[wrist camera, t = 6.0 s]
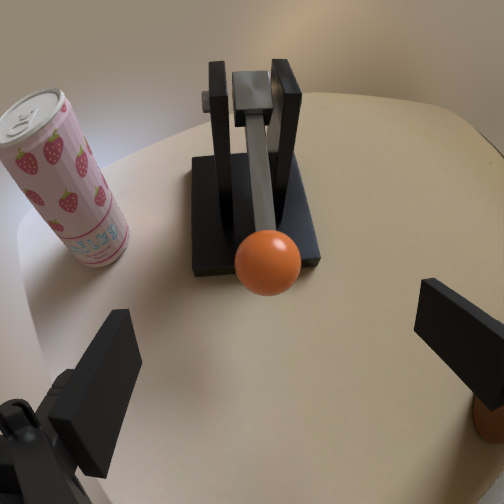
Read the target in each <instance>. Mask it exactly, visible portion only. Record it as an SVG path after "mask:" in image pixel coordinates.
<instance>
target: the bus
mask: <svg viewBox="0 0 504 504" xmlns="http://www.w3.org/2000/svg"><path fill="white" fill-rule="evenodd" d="M476 504H504V470H503V472H502V473H501V474H500V476H499V477H498V478H497V479H496V481H495V482H494V483H493V484H492V485H491V487H490V488H489V489H488V490H487V491H486V493H485V494H484V495H483V496H482V497H481V498H480V499H479V500H478V502H477V503H476Z"/></svg>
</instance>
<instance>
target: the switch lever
mask: <svg viewBox="0 0 504 504" xmlns="http://www.w3.org/2000/svg"><path fill="white" fill-rule="evenodd" d="M232 98H233V110H234V122H235V127H245V137H246V147H247V158H248V169H249V179H250V190H251V201H252V212H253V223H254V233H252V234H251V235H249V236H248V237H246V238H245V239H244V240H243V241H242V243H241V244H240V246H239V247H238V249H237V252H236V255H235V270H236V274H237V276H238V278H239V280H240V282H241V283H242V284H243V285H244V286H245V287H246V288H247V289H248V290H250V291H251V292H253V293H255V294H258V295H262V296H273V295H278V294H280V293H283V292H285V291H286V290H288V289H289V288H290V287H291V286H292V285H293V284H294V283H295V281H296V280H297V278H298V275H299V273H300V269H301V257H300V253H299V250H298V248H297V246H296V244H295V243H294V242H293V240H292V239H291V238H289V237H288V236H287V235H285V234H284V233H282V232H279V231H276V224H275V214H274V205H273V195H272V185H271V176H270V167H269V158H268V149H267V140H266V132H265V126H267V125H270V121H271V117H272V113H273V110H274V104H273V97H272V90H271V83H270V76H269V71H241V72H233V73H232Z"/></svg>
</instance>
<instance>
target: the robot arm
mask: <svg viewBox="0 0 504 504" xmlns="http://www.w3.org/2000/svg"><path fill="white" fill-rule="evenodd" d="M414 331H415V332H416V333H417V334H418V335H419V336H420V337H421V338H422V339H423V340H424V341H425V342H426V343H427V345H428V346H429V347H430V348H431V349H432V350H433V351H434V352H435V353H436V354H437V355H438V356H439V357H440V358H441V359H442V360H443V361H444V362H445V363H446V364H447V365H448V366H449V367H450V368H451V369H452V370H453V371H454V372H455V374H456V375H457V376H458V377H459V378H460V379H461V380H462V381H463V382H464V383H465V384H466V385H467V386H468V387H469V388H470V390H471V391H472V392H473V393H474V394H475V395H476V396H477V397H478V398H479V399H480V400H481V402H482V403H483V404H484V405H485V406H486V407H487V408H488V409H489V410H490V412H493V411H494V410H496V409H498V408H500V407H502V406H504V324H503V323H501V322H500V321H498V320H496V319H494V318H492V317H491V316H490V315H488V314H487V313H485V312H484V311H483V310H481V309H480V308H478V307H477V306H475V305H474V304H473V303H471V302H470V301H468V300H467V299H465V298H464V297H462V296H461V295H459V294H458V293H456V292H455V291H453V290H452V289H450V288H449V287H447V286H446V285H444V284H443V283H441V282H440V281H438V280H437V279H435V278H429V279H422V280H421V288H420V295H419V302H418V308H417V314H416V320H415V326H414ZM141 365H142V359H141V355H140V352H139V348H138V344H137V341H136V337H135V333H134V329H133V325H132V321H131V317H130V312H129V309H116V310H112V311H111V313H110V314H109V316H108V317H107V319H106V320H105V322H104V323H103V325H102V326H101V328H100V329H99V331H98V332H97V334H96V335H95V337H94V339H93V340H92V342H91V343H90V345H89V346H88V348H87V350H86V351H85V353H84V354H83V356H82V358H81V359H80V361H79V363H78V364H77V366H76V367H75V369H66V370H65V371H64V372H63V373H61V374H60V375H59V376H58V377H57V378H56V380H55V381H54V383H53V384H52V388H50V389H49V391H48V393H47V395H46V396H45V397H44V399H43V401H42V402H41V404H40V406H39V407H38V409H37V411H36V412H35V413H34V411H33V410H32V408H31V406H30V405H29V403H28V402H27V401H25V400H23V399H13V400H9V401H7V402H5V403H3V404H2V405H0V431H1V432H2V433H3V435H0V504H92V502H91V501H90V499H89V497H88V495H87V494H86V492H85V490H84V489H83V487H82V485H81V483H80V482H79V480H78V478H77V477H76V476H75V471H76V469H77V466H79V468H80V469H81V471H82V472H83V473H84V475H85V476H91V477H97V478H104V479H106V477H107V474H108V470H109V467H110V463H111V459H112V456H113V453H114V449H115V446H116V442H117V439H118V436H119V432H120V429H121V426H122V423H123V419H124V416H125V413H126V410H127V407H128V404H129V401H130V398H131V395H132V392H133V389H134V386H135V383H136V380H137V377H138V374H139V371H140V368H141Z"/></svg>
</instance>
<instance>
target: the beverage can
mask: <svg viewBox="0 0 504 504" xmlns="http://www.w3.org/2000/svg"><path fill="white" fill-rule="evenodd" d="M0 160H1V162H2V163H3V165H4V166H5V168H6V169H7V171H8V172H9V173H10V175H11V176H12V177H13V179H14V180H15V182H16V183H17V185H18V186H19V187H20V189H21V190H22V191H23V193H24V194H25V195H26V197H27V198H28V199H29V201H30V202H31V203H32V205H33V206H34V207H35V209H36V210H37V211H38V212H39V214H40V215H41V216H42V218H43V219H44V220H45V221H46V222H47V224H48V225H49V226H50V227H51V229H52V230H53V231H54V232H55V233H56V235H57V236H58V237H59V238H60V239H61V241H62V242H63V243H64V244H65V245H66V246H67V248H68V249H69V250H70V251H71V252H72V253H73V254H74V256H75V257H76V258H77V259H78V260H79V261H80V262H81V263H82V264H84V265H86V266H88V267H102V266H106V265H108V264H110V263H112V262H113V261H115V260H116V259H117V258H118V257H119V256H120V255H121V254H122V253H123V251H124V250H125V248H126V246H127V244H128V241H129V236H130V230H129V226H128V224H127V222H126V220H125V218H124V216H123V214H122V212H121V210H120V208H119V206H118V205H117V203H116V201H115V199H114V197H113V195H112V193H111V191H110V189H109V187H108V185H107V183H106V181H105V179H104V177H103V175H102V173H101V171H100V169H99V167H98V165H97V162H96V161H95V158H94V156H93V154H92V152H91V150H90V147H89V145H88V143H87V141H86V139H85V136H84V134H83V132H82V130H81V128H80V125H79V123H78V121H77V118H76V116H75V114H74V111H73V109H72V107H71V104H70V102H69V100H68V99H67V98H65V96H64V93H63V92H62V91H61V90H59V89H57V88H45V89H41V90H38V91H36V92H33V93H31V94H30V95H28V96H26V97H24V98H23V99H21V100H20V101H18V102H17V103H16V104H14V105H13V106H12V107H11V108H10V109H8V110H7V111H6V113H4V115H3V116H2V117H1V118H0Z"/></svg>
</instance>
